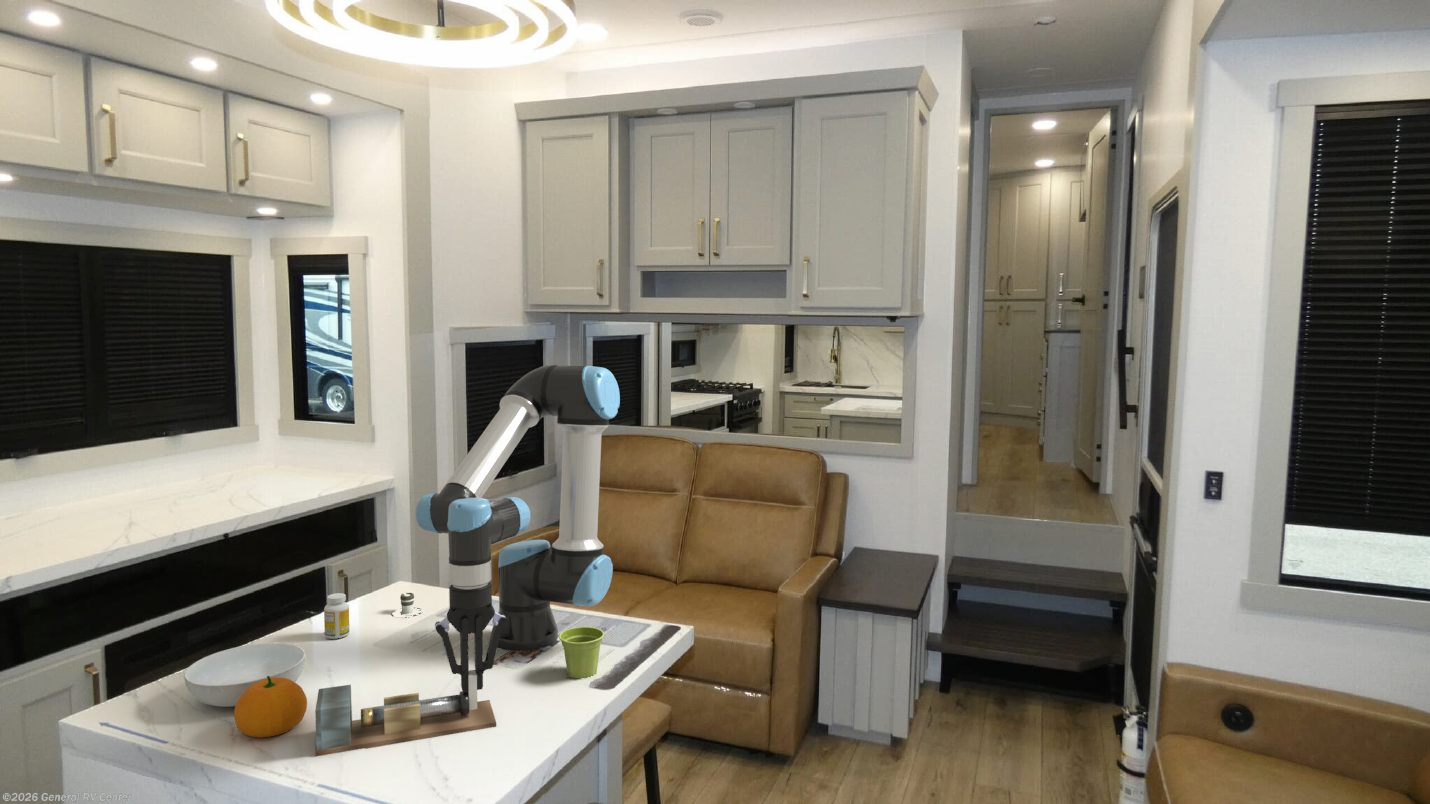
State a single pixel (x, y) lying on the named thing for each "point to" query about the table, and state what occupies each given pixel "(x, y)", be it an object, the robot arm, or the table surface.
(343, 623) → the supplement bottle
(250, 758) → the table surface
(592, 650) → the plant pot
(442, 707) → the tube
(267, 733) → the fruit
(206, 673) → the serving bowl
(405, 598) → the coffee cup
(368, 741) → the base
